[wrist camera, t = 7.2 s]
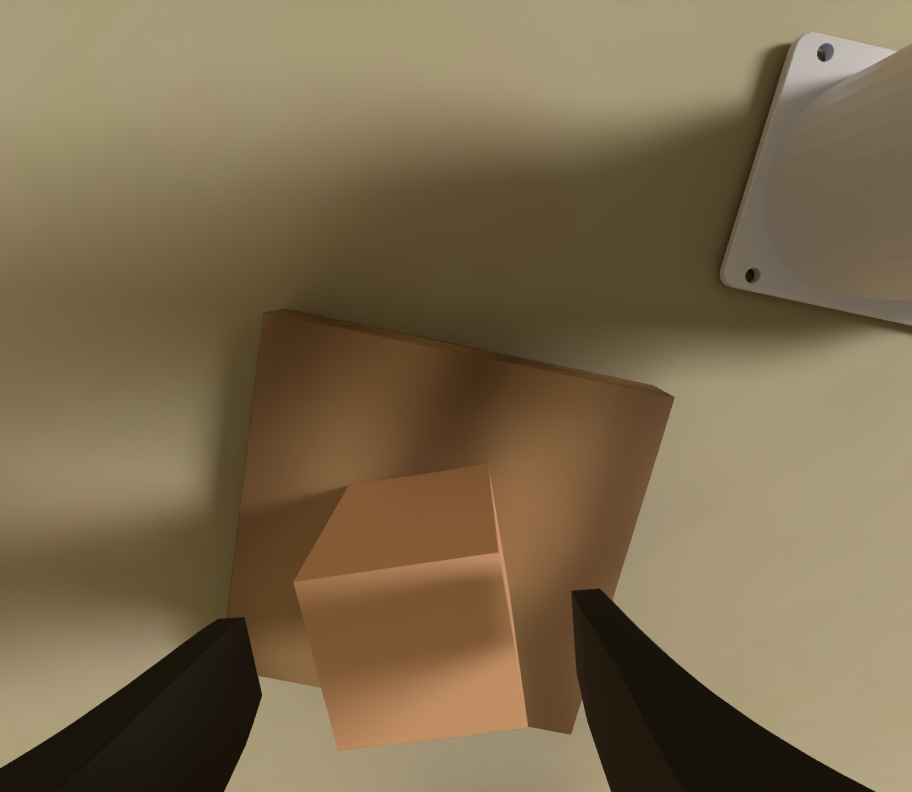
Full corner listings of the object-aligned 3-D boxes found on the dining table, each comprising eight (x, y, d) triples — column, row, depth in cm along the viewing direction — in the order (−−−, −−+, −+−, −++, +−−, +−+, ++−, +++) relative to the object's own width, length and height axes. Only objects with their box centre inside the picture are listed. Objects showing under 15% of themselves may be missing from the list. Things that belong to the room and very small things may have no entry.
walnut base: (653, 385, 19) (674, 397, 17) (561, 694, 22) (570, 734, 20) (284, 309, 19) (263, 312, 17) (242, 634, 22) (220, 668, 20)
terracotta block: (488, 463, 18) (498, 552, 12) (508, 589, 19) (527, 727, 13) (348, 485, 18) (293, 582, 12) (377, 608, 19) (338, 751, 13)
